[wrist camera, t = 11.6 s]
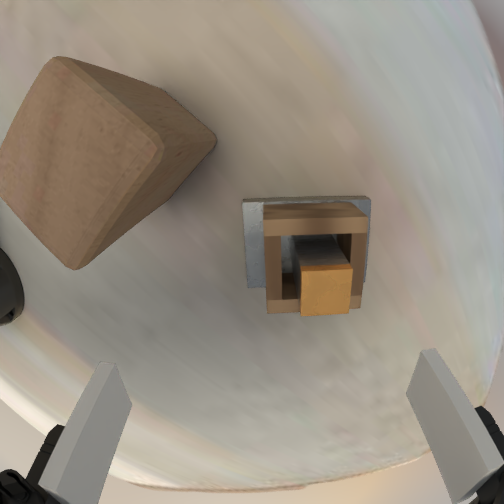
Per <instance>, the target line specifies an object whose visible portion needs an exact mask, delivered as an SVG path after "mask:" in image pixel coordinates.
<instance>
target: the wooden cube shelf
mask: <svg viewBox="0 0 504 504" xmlns="http://www.w3.org/2000/svg"><path fill="white" fill-rule="evenodd" d="M263 230H264V252H265V275H266V299H267V313H289V312H300V309H299V303H298V298H297V292H296V287H295V282H294V276H293V273H282V265H281V236H286V235H314V234H337V244H338V246H339V247H340V249H341V251H342V252H343V254H344V255H345V257H346V259H347V260H348V262H349V264H350V265H351V267H352V269H353V274H352V285H351V295H350V305H349V309H355V308H360V305H361V297H362V289H363V279H364V269H365V258H366V245H367V231H368V216H367V215H365V214H364V213H363V212H362V211H361V210H360V209H358V208H357V207H356V206H355V205H354V204H353V203H351V202H339V203H296V204H268V205H263Z"/></svg>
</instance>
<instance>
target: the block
mask: <svg viewBox="0 0 504 504" xmlns="http://www.w3.org/2000/svg"><path fill="white" fill-rule="evenodd" d="M216 141H217V139H216V137H215V135H214V133H213V132H212V131H210V130H209V129H208V128H207V127H206V126H205V125H203V124H202V123H201V122H200V121H199V120H198V119H197V118H195V117H194V116H193V115H192V114H191V113H189V112H188V111H187V110H186V109H185V108H184V107H182V106H181V105H180V104H179V103H178V102H176V101H175V100H174V99H173V98H172V97H170V96H169V95H168V94H167V93H166V92H164V91H163V90H162V89H160V88H158V87H155V86H153V85H150V84H147V83H145V82H142V81H139V80H137V79H134V78H131V77H128V76H125V75H122V74H120V73H117V72H114V71H111V70H108V69H105V68H102V67H98V66H95V65H92V64H89V63H85V62H82V61H79V60H75V59H72V58H68V57H61V56H57V57H53V58H52V59H50V60H49V61H48V62H47V63H46V64H45V65H44V67H43V68H42V70H41V71H40V73H39V75H38V76H37V78H36V79H35V81H34V83H33V85H32V86H31V88H30V90H29V91H28V93H27V95H26V97H25V99H24V100H23V102H22V104H21V106H20V108H19V110H18V112H17V114H16V116H15V118H14V120H13V122H12V124H11V126H10V128H9V130H8V132H7V135H6V137H5V139H4V141H3V144H2V146H1V148H0V197H1V198H2V199H3V200H4V201H5V202H6V204H7V205H8V206H9V207H10V208H11V209H12V211H13V212H14V213H15V214H16V215H17V216H18V217H19V219H20V220H21V221H22V222H23V223H24V224H25V225H26V226H27V227H28V228H29V230H30V231H31V232H32V233H33V234H34V235H35V236H36V237H37V238H38V239H39V240H40V241H41V242H42V243H43V244H44V245H45V246H46V247H47V248H48V249H49V250H50V251H51V252H52V253H53V254H54V255H55V256H56V257H57V258H58V259H59V260H60V261H61V262H62V263H63V264H64V265H65V266H66V267H68V268H70V269H72V270H78V269H80V268H82V267H84V266H86V265H87V264H89V263H90V262H91V261H92V260H93V259H94V258H96V257H97V256H98V255H99V254H100V253H102V252H103V251H104V250H105V249H106V248H108V247H109V246H110V245H111V244H112V243H114V242H115V241H116V240H117V239H118V238H120V237H121V236H122V235H123V234H125V233H126V232H127V231H128V230H130V229H131V228H132V227H133V226H135V225H136V224H137V223H139V222H140V221H141V220H142V219H144V218H145V217H146V216H148V215H149V214H150V213H152V212H153V211H154V210H155V209H157V208H158V207H159V206H161V205H162V204H163V203H165V202H166V201H167V200H168V199H169V198H170V197H171V196H172V195H173V193H174V192H175V191H176V190H177V189H178V187H179V186H180V185H181V184H182V183H183V181H184V180H185V179H186V178H187V177H188V176H189V174H190V173H191V172H192V171H193V170H194V169H195V168H196V166H197V165H198V164H199V163H200V162H201V161H202V160H203V159H204V157H205V156H206V155H207V154H208V153H209V152H210V151H211V150H212V149H213V147H214V146H215V143H216Z"/></svg>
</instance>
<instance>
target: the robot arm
mask: <svg viewBox="0 0 504 504" xmlns="http://www.w3.org/2000/svg"><path fill="white" fill-rule="evenodd" d="M23 305H24V296H23V289H22V285H21V282H20V279H19V277H18V274H17V272H16V270H15V268H14V266H13V264H12V263H11V261H10V260H9V258H8V257H7V255H6V254H5V253H4V252H3V251H2V250H1V249H0V326H3V325H6V324H8V323H11V322H12V321H13V320H15V319H16V318H17V317H18V316H19V315H20V314H21V312H22V310H23ZM406 395H407V397H408V399H409V401H410V404H411V406H412V408H413V410H414V412H415V414H416V417H417V419H418V421H419V423H420V425H421V428H422V430H423V432H424V434H425V437H426V439H427V441H428V444H429V446H430V448H431V451H432V453H433V455H434V458H435V460H436V463H437V465H438V468H439V470H440V472H441V475H442V477H443V480H444V483H445V485H446V487H447V490H448V493H449V496H450V498H451V501H452V504H457V503H460V502H462V501H464V500H466V499H468V498H470V497H471V496H472V495H473V494H474V493H475V492H476V493H477V495H478V496H477V497H476V498H475V499H474V500H473V501H472V502H470V503H469V504H504V435H503V434H502V432H501V431H500V429H499V427H498V425H497V424H495V420H494V419H493V417H492V415H491V414H490V413H489V412H488V411H487V410H486V409H485V408H483V407H482V406H479V407H477V408H474V407H473V405H472V404H471V402H470V401H469V399H468V397H467V396H466V394H465V393H464V391H463V389H462V388H461V386H460V385H459V383H458V382H457V380H456V378H455V377H454V375H453V374H452V372H451V371H450V369H449V368H448V366H447V365H446V363H445V362H444V360H443V359H442V357H441V356H440V354H439V353H438V352H437V350H436V349H435V348H433V349H428V350H423V351H421V353H420V356H419V359H418V362H417V365H416V368H415V370H414V373H413V376H412V379H411V381H410V384H409V387H408V389H407V392H406ZM131 407H132V403H131V401H130V399H129V396H128V394H127V392H126V389H125V387H124V384H123V382H122V380H121V377H120V375H119V372H118V370H117V367H116V364H115V363H108V362H100V363H99V365H98V366H97V368H96V370H95V372H94V374H93V375H92V377H91V379H90V381H89V383H88V384H87V386H86V388H85V390H84V392H83V393H82V395H81V397H80V399H79V401H78V403H77V405H76V407H75V408H74V410H73V412H72V414H71V416H70V418H69V420H68V422H67V424H66V426H62V425H58V424H57V425H56V426H55V427H54V428H53V429H52V430H51V431H50V432H49V433H48V435H47V437H46V439H45V441H44V444H43V445H42V447H41V449H40V452H39V453H38V455H37V457H36V459H35V461H34V463H33V465H32V467H31V469H30V471H29V473H28V475H27V477H26V479H24V478H23V477H22V476H21V475H20V474H19V473H18V472H17V471H15V470H12V469H8V470H4V471H2V472H1V473H0V504H98V502H99V498H100V495H101V492H102V489H103V486H104V483H105V480H106V477H107V474H108V471H109V468H110V465H111V462H112V459H113V457H114V454H115V451H116V448H117V445H118V442H119V440H120V437H121V434H122V431H123V429H124V426H125V423H126V420H127V418H128V415H129V412H130V410H131Z"/></svg>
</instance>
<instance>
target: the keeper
mask: <svg viewBox="0 0 504 504" xmlns="http://www.w3.org/2000/svg"><path fill="white" fill-rule="evenodd" d="M339 202H351V203H353V204H354V205H355V206H356V207H357V208H358V209H360V210H361V211H362V212H363V213H364V214H365V215H367V216H368V231H367V245H366V258H365V269H364V279H363V282H365V277H366V267H367V256H368V244H369V230H370V212H371V199H369V198H368V197H366V196H319V197H281V198H256V199H243V202H242V207H243V222H244V237H245V252H246V267H247V282H248V288H255V287H266V275H265V252H264V230H263V205H268V204H296V203H339ZM281 265H282V273H293V276H294V282H295V287H296V292H297V298H298V303H299V309H300V314H301V316H315V315H331V314H346V313H349V305H350V295H351V285H352V274H353V269H352V267H351V265H350V264H349V262H348V260H347V259H346V257H345V255H344V254H343V252H342V251H341V249H340V247H339V246H338V244H337V234H314V235H286V236H281Z"/></svg>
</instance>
